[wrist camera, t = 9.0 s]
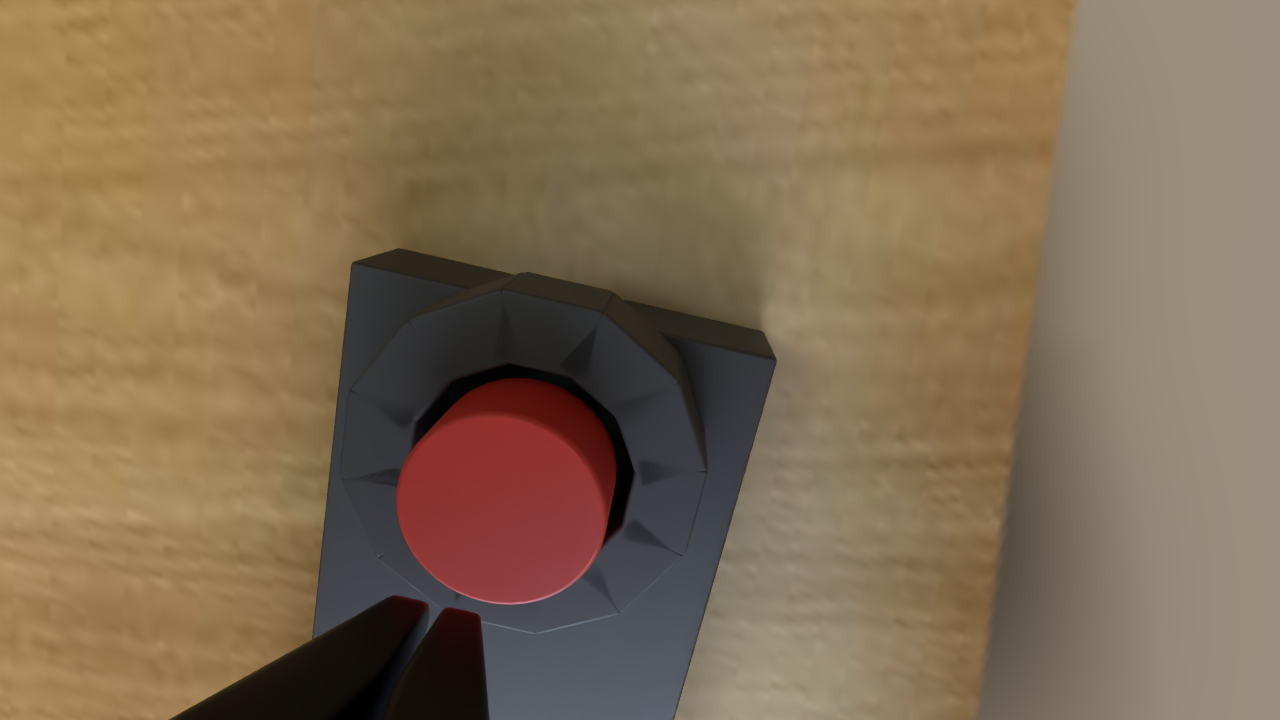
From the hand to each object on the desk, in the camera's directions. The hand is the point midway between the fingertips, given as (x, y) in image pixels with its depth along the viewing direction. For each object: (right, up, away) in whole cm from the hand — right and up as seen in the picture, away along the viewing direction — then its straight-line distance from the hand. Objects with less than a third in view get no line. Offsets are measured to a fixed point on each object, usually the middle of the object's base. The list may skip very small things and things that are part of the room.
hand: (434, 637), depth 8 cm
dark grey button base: (-1, -3, +9) cm, 10 cm away
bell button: (0, +1, +4) cm, 5 cm away
